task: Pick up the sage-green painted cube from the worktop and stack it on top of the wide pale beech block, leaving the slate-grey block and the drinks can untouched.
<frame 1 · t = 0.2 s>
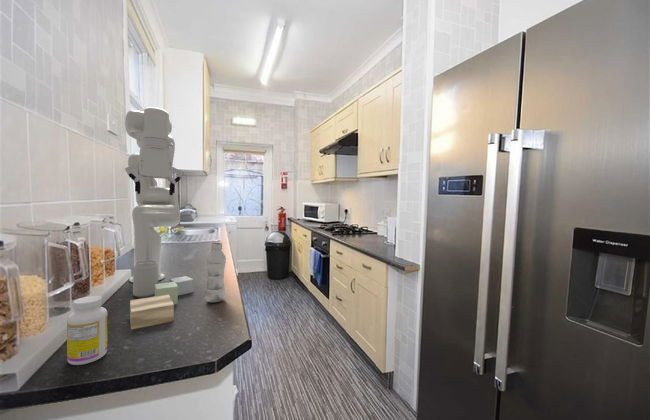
hand: (155, 194, 97), 36 cm above the counter, tool pointing down, fingers open, 9 cm apart
sage-green block: (165, 302, 93), on the counter
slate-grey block: (181, 292, 104), on the counter
can: (145, 295, 99), on the counter
beech block: (151, 319, 81), on the counter
plastic bottle: (215, 302, 95), on the counter
supplement bottle: (87, 358, 60), on the counter
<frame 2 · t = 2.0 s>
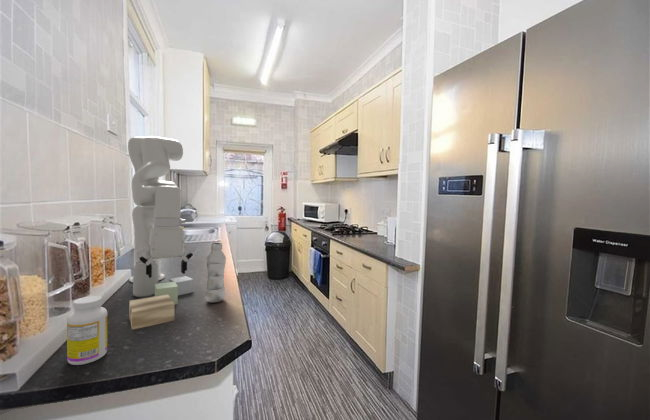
hand: (167, 274, 92), 10 cm above the counter, tool pointing down, fingers open, 9 cm apart
nothing on the counter moved.
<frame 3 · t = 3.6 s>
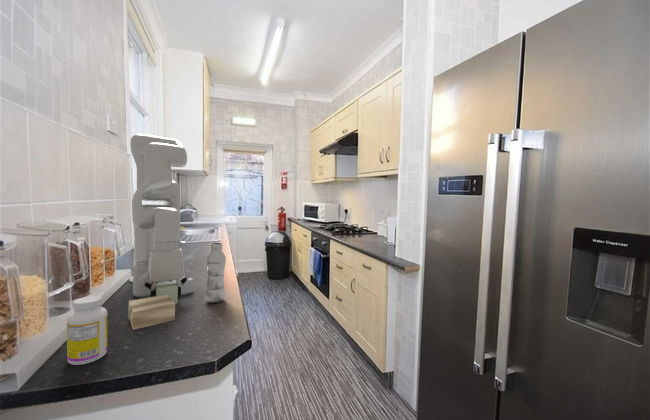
hand: (166, 299, 93), 1 cm above the counter, tool pointing down, fingers closed on sage-green block, 6 cm apart
sage-green block: (165, 302, 93), on the counter, touching gripper
everything else where it was.
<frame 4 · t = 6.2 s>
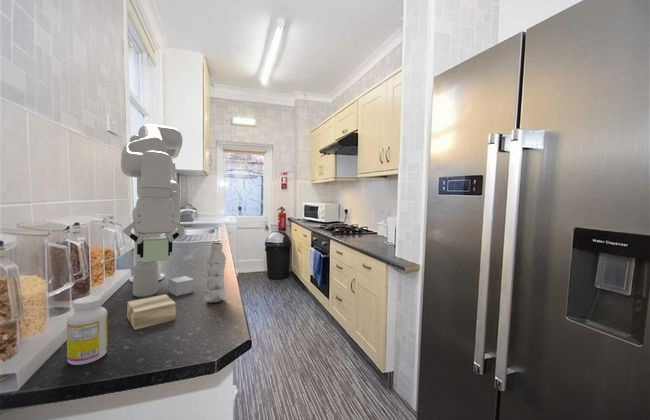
hand: (154, 255, 81), 18 cm above the counter, tool pointing down, fingers closed on sage-green block, 6 cm apart
sage-green block: (154, 259, 82), point 17 cm above the counter, touching gripper
everything else where it was.
when the fingers open (7 cm above the counter, at t = 9.1 s): sage-green block stays where it is, point 5 cm above the counter.
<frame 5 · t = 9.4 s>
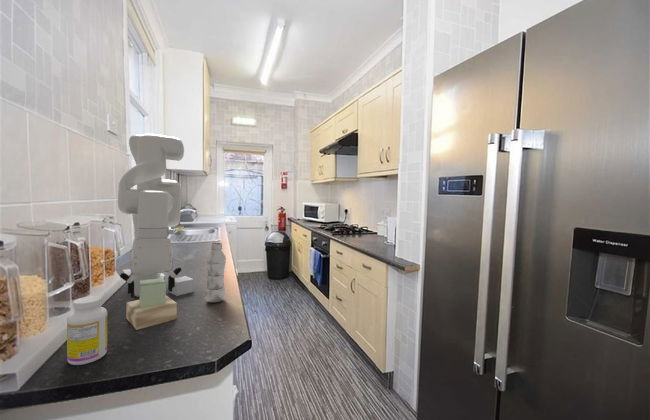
hand: (151, 292, 80), 7 cm above the counter, tool pointing down, fingers open, 9 cm apart
sage-green block: (152, 302, 81), point 5 cm above the counter
everything else where it was.
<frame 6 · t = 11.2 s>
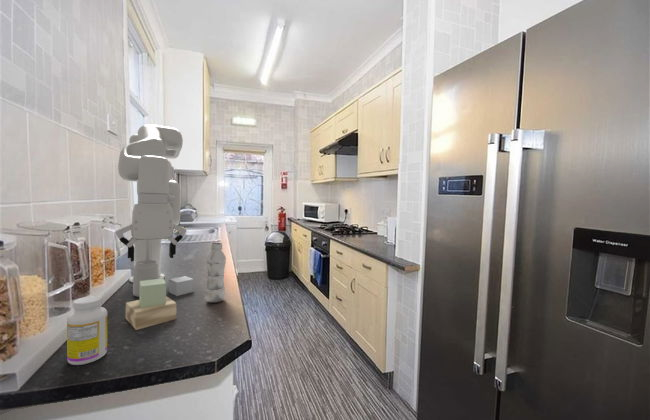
hand: (152, 258, 80), 17 cm above the counter, tool pointing down, fingers open, 9 cm apart
nothing on the counter moved.
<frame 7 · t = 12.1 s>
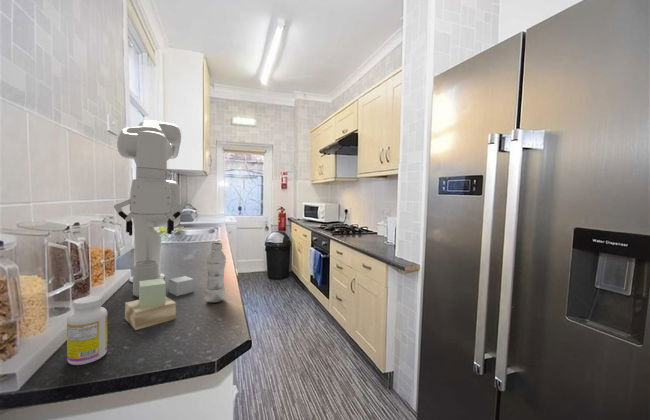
hand: (150, 234, 81), 24 cm above the counter, tool pointing down, fingers open, 9 cm apart
sage-green block: (152, 302, 80), point 5 cm above the counter, touching beech block
beech block: (150, 319, 80), on the counter, touching sage-green block
everything else where it was.
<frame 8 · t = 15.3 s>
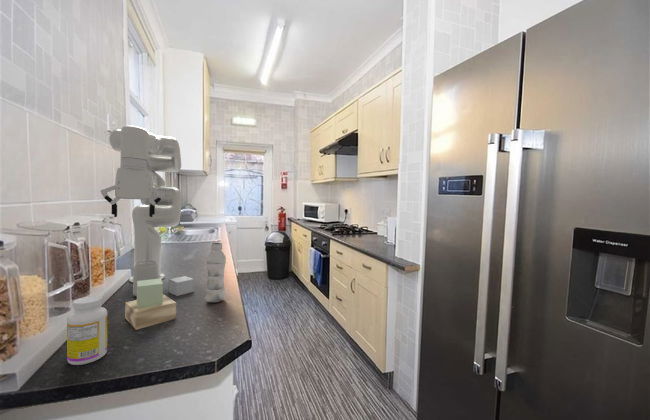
hand: (133, 216, 92), 28 cm above the counter, tool pointing down, fingers open, 9 cm apart
nothing on the counter moved.
at the end: sage-green block inside the target area on the beech block (0.4 cm from its centre), point 5.0 cm above the beech block's base; sage-green block tilted 0°; the gripper is holding nothing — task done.
